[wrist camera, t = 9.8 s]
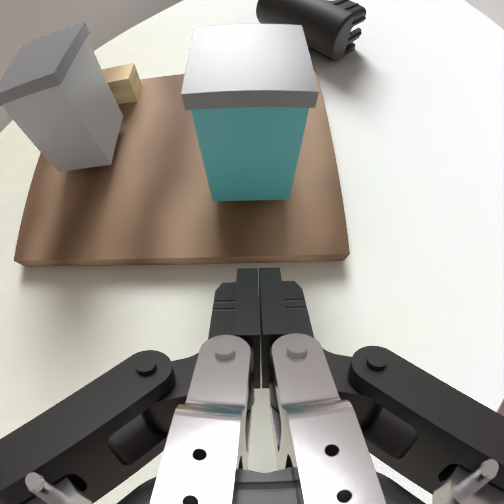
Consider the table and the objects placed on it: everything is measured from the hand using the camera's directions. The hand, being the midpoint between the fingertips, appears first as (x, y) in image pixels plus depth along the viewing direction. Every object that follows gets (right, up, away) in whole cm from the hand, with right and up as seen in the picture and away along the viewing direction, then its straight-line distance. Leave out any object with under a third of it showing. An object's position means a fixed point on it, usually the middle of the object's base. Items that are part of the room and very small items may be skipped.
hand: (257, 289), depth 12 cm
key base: (-7, +9, +13) cm, 17 cm away
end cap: (+6, +25, +19) cm, 32 cm away
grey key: (-13, +10, +11) cm, 20 cm away
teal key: (0, +7, +10) cm, 12 cm away
